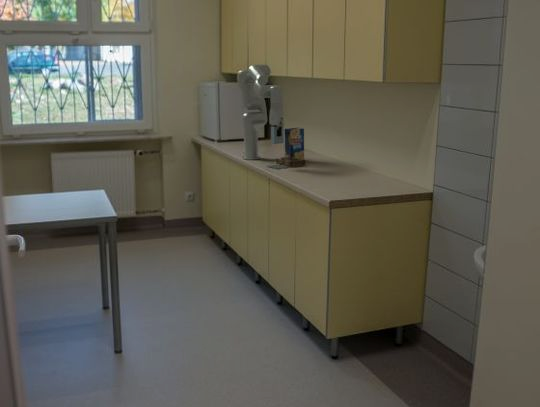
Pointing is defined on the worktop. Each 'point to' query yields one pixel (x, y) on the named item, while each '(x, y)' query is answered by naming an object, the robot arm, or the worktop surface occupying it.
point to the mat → (277, 166)
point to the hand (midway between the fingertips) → (277, 135)
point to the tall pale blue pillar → (274, 137)
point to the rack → (294, 162)
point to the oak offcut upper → (286, 158)
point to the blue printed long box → (294, 143)
